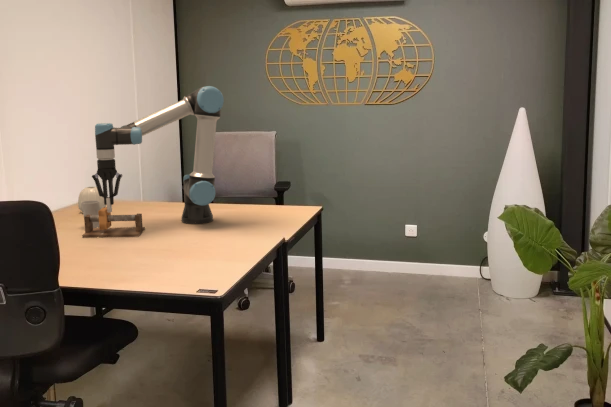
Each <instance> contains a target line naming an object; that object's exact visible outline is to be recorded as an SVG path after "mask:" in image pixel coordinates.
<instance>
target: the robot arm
mask: <svg viewBox="0 0 611 407" xmlns="http://www.w3.org/2000/svg"><path fill="white" fill-rule="evenodd" d="M224 101H225V99H224V95H223V93H222V91H221V90H220V89H218V88H217V87H215V86H212V85H207V86H206V85H204V86H201V87H199V88H197V89H195V90H194V91H192V92H190V93H189V94H187V95H184V96H183V98H182V99H181V100H179V101H177V102H174V103H172V104H169V105H168V106H166V107H164V108H162V109H159V110H157V111H155V112H153V113H150V114H148V115H145V116H143V117H142V118H139V119H137V120H135V121H133V122H131V123H128V124H125V125H121V126H120V127H114V125H113V123H110V122H107V123H106V122H105V123H102V122H101V123H99V122H98V123H96V124H95V125H94V136H95V138H94V140H95V148H96V159H97V161H96V164H97V170H96V173H95V174H92V176H91V178H92V179H93V181H94V184H95V187H97V190H98V193H99V196H101V197H103V198H104V204H105V205H106V207H107V213H110V212H111V213H112V212H113V205H114V203H115V199H114V197H116V196H118V194H119V188H120V182H121V179H122V177H123V174H122V173H119V172H118V171H117V169H116V159H115V158H116V156H115V155H116V154H115V146H118V145H121V146H122V145H141V144H142V143H143V136H146V135H148V134H151V133H152V132H154V131H157V130H159V129H161V128H163V127H165V126H167V125H169V124H172V123H175V122H177V121H179V120H181V119H183V118H185V117H187V116H190V115H191V116H195V117H196V119H197V120H196V121H197V123H196V133H195V145H194V157H193V158H194V159H193V171H192V172H191V173H189V174H185V175H184V176H183V180H182V183H183V194H184V195H183V197H184V198H183V199H184V207H183V210H182V215H181V222H182V223H184V224H191V225H193V224H194V225H196V224H197V225H198V224H207V223H210V222H213V221H214V215H213V213H212V210H211V207H210V204H211V203H212V202H213V201H214V199H215V197H216V188H215V180H216V176H215V175H214V173H213V166H214V165H213V164H214V154H215V142H216V131H217V121H218V120H220V118H221V113H222V109H223V106H224V103H225V102H224ZM115 177H116V179H115V185H114V184H113V182H114V178H115ZM99 178H100V179H101V183H102V186H101V183H100V179H99ZM108 193H109V194H108Z"/></svg>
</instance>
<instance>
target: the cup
mask: <svg viewBox="0 0 611 407" xmlns="http://www.w3.org/2000/svg"><path fill="white" fill-rule="evenodd" d="M81 204H82V209H83V212H82V214H83V218H84V217H85V216H86V215H92V216H93V215H99V214H98V211H99V201H96V200H91V201H83V202H81ZM97 227H98V228H99V222H93V228H97Z"/></svg>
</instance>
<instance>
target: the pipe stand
mask: <svg viewBox="0 0 611 407" xmlns="http://www.w3.org/2000/svg"><path fill="white" fill-rule="evenodd" d="M142 214H143V213H136V214H111V215H107V221H109V222H110V221H111V222H134V223H135V225H134V226H131V227H128V226H127V227H123V226H121V227H120V226H119V227H109V228H108V229H107V230H100V228H99V227H98V228H93V222H99V215H93V216H92V215H86V216H85V217H84V216H83V220H84V221H83V222H84V231H85V232H84V233H83V234H82V238H83V239H85V238H86V239H89V238H91V239H92V238H93V239H95V238H97V237H99V238H131V237H132V238H133V237H134V238H135V237H139V236H140V235H142V234H143V232H144V231H145V230H146V228H145V226H144V225H143V215H142Z"/></svg>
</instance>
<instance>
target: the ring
mask: <svg viewBox="0 0 611 407" xmlns="http://www.w3.org/2000/svg"><path fill="white" fill-rule="evenodd" d="M111 213H112V212H110V213H107V206H106V207H103V208H102V209H100V210H99V211H98V214H99V227H98V228H100V230H107V229H108V228H111V226H112V221H110V222H109V221H107V215H112V214H111Z"/></svg>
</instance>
